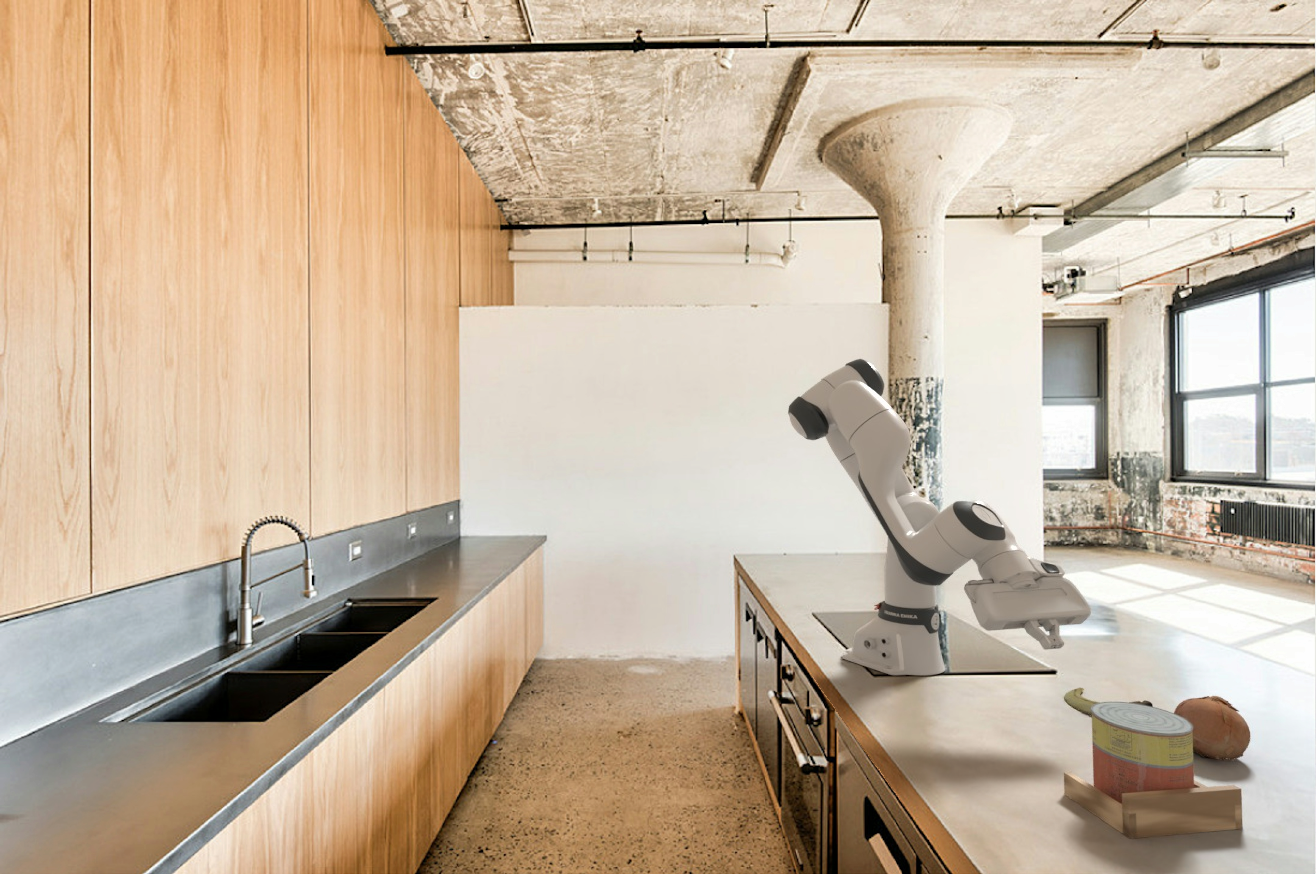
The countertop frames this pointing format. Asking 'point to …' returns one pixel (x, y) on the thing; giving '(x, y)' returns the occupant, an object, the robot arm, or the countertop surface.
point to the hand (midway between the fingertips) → (1054, 647)
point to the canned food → (1140, 749)
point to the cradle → (1162, 808)
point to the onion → (1215, 727)
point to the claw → (1088, 701)
